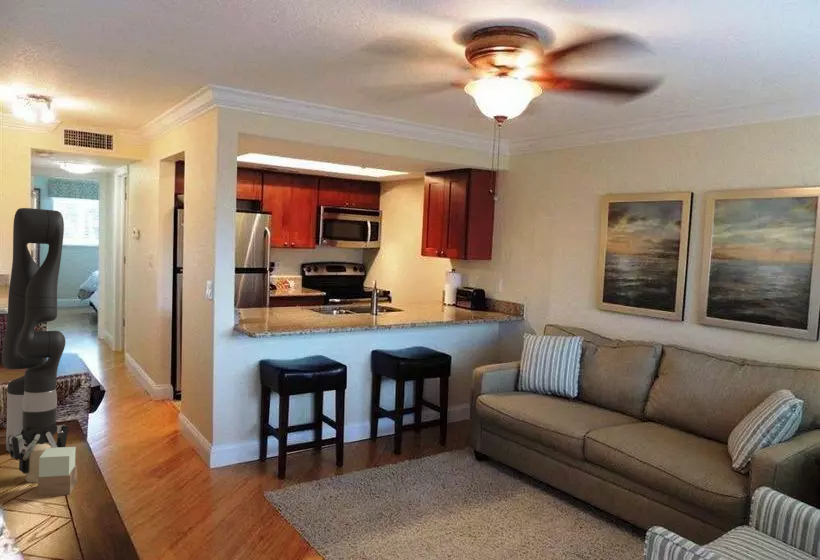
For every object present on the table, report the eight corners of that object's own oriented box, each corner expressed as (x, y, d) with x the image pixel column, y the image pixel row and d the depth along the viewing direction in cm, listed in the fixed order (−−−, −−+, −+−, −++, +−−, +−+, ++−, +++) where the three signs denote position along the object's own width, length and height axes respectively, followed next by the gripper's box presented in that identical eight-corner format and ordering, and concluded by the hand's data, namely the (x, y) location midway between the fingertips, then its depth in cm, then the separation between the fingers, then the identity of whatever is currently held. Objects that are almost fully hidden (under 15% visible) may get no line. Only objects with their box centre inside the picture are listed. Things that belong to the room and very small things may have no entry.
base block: (45, 485, 147) (46, 466, 147) (76, 483, 150) (76, 464, 149) (37, 497, 141) (38, 477, 140) (69, 495, 143) (70, 475, 143)
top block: (46, 467, 147) (46, 448, 146) (75, 465, 149) (75, 446, 149) (38, 477, 141) (39, 457, 140) (68, 475, 143) (69, 456, 142)
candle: (38, 484, 148) (39, 446, 147) (20, 480, 149) (21, 443, 148) (55, 475, 153) (56, 439, 152) (37, 472, 154) (38, 436, 153)
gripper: (61, 398, 158) (59, 457, 159) (2, 409, 146) (0, 473, 147) (75, 403, 154) (74, 464, 155) (16, 415, 142) (14, 481, 143)
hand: (38, 468), depth 151 cm, fingers open, 6 cm apart
